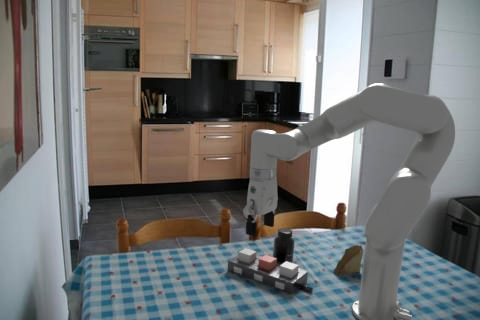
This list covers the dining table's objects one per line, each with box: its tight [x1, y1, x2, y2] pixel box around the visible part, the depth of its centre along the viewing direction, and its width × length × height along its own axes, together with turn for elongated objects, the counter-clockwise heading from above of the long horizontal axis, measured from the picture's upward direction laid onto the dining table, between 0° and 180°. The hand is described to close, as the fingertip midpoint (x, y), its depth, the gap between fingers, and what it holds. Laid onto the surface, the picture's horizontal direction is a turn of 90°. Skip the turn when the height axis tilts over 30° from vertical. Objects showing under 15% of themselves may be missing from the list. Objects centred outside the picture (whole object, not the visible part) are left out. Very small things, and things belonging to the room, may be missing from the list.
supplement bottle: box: [272, 227, 295, 264], centre depth 144 cm, size 7×7×12 cm
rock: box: [332, 244, 364, 276], centre depth 141 cm, size 11×9×10 cm
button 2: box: [258, 254, 277, 271], centre depth 134 cm, size 4×4×6 cm
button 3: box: [238, 248, 258, 264], centre depth 138 cm, size 4×4×6 cm
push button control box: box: [227, 253, 314, 295], centre depth 133 cm, size 27×10×4 cm, turn 56°
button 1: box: [279, 261, 300, 278], centre depth 130 cm, size 4×4×6 cm
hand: (260, 230), depth 126 cm, fingers open, 9 cm apart
